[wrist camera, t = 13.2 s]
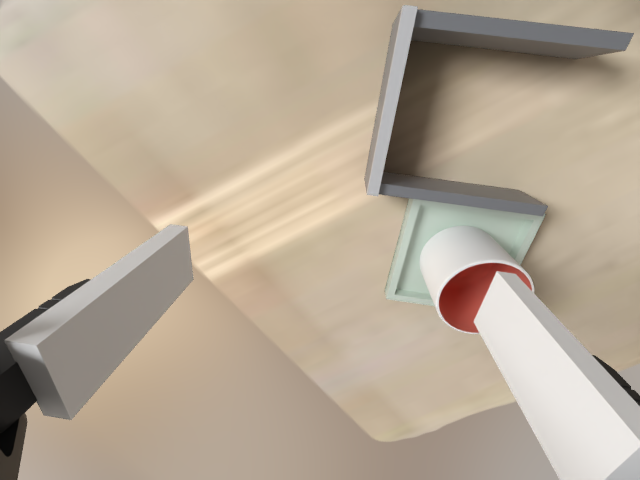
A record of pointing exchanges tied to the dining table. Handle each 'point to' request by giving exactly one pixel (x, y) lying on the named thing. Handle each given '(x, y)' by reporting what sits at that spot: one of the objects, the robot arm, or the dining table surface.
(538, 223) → the tray
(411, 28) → the bay
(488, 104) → the dining table surface
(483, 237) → the cup
